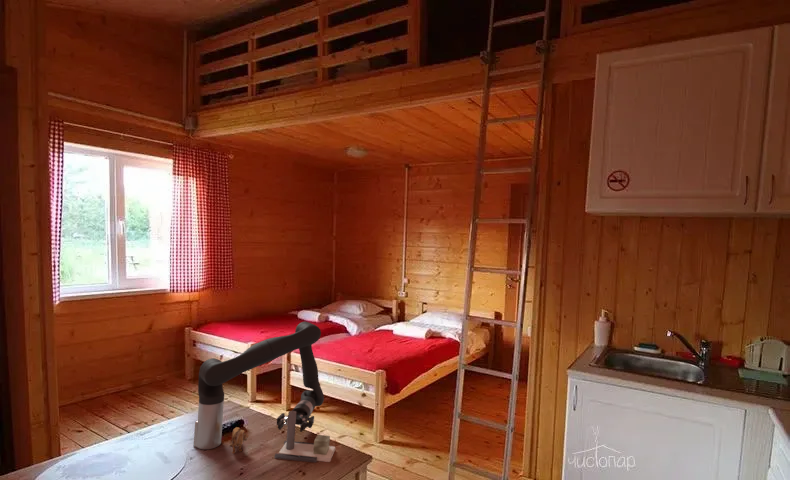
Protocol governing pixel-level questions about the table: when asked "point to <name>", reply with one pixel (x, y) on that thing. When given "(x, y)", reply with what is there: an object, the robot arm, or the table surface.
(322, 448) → the block
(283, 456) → the guide rails
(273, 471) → the table surface
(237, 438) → the lion figurine
